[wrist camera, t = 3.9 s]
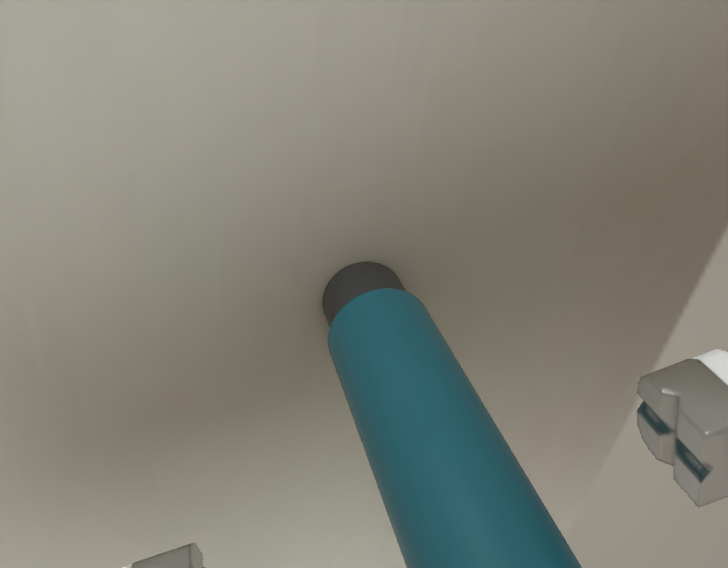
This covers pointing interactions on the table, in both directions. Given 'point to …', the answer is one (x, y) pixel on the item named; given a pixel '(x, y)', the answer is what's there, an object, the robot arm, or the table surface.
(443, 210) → the table surface
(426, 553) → the marker
